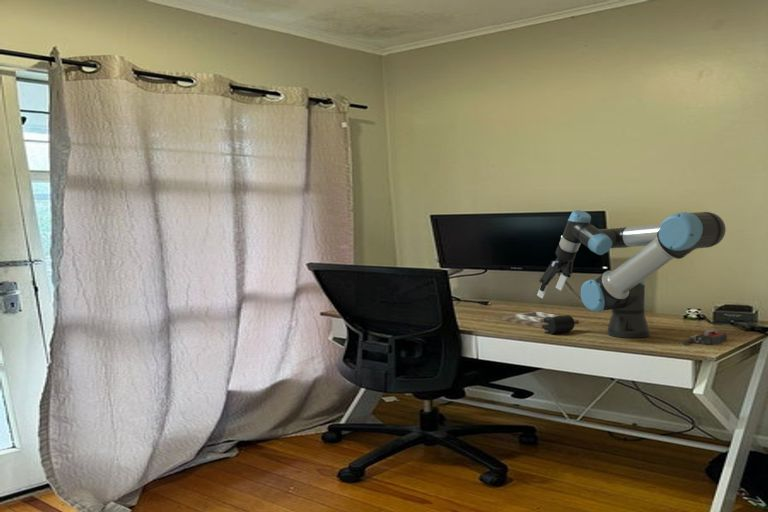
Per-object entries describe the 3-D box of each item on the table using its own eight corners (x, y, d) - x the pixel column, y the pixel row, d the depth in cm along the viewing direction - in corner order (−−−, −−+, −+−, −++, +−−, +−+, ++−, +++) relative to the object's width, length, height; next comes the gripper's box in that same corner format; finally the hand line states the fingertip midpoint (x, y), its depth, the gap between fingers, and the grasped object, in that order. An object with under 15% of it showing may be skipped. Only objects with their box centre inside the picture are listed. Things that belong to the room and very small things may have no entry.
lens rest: (578, 323, 277) (578, 316, 276) (542, 328, 267) (542, 321, 267) (534, 314, 301) (534, 309, 301) (499, 319, 292) (499, 313, 292)
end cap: (555, 336, 250) (555, 318, 250) (542, 333, 257) (542, 316, 256) (575, 333, 255) (574, 315, 255) (561, 330, 261) (561, 313, 261)
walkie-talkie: (703, 337, 240) (679, 346, 226) (703, 325, 239) (679, 333, 226) (729, 340, 233) (705, 349, 220) (729, 328, 233) (705, 336, 219)
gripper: (576, 237, 265) (558, 281, 275) (542, 249, 248) (524, 295, 259) (592, 246, 261) (573, 290, 271) (558, 259, 244) (539, 305, 254)
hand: (549, 292), depth 265 cm, fingers open, 13 cm apart
